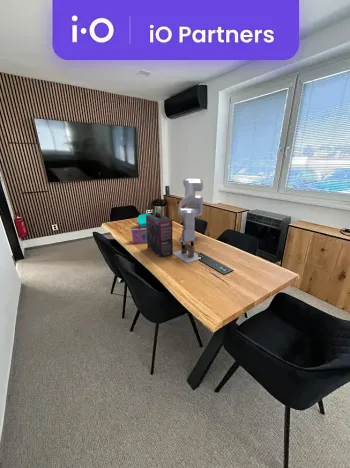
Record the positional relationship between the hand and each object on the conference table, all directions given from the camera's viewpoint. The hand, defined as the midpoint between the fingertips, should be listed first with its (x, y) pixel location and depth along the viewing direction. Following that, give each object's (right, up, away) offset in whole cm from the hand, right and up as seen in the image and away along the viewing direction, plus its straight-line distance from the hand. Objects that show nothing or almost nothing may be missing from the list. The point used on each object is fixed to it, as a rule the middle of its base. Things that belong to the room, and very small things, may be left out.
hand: (187, 247), depth 162 cm
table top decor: (-38, +16, +71) cm, 82 cm away
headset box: (-23, -4, +11) cm, 26 cm away
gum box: (-39, +4, +33) cm, 51 cm away
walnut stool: (0, -6, +2) cm, 7 cm away
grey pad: (0, -7, +2) cm, 7 cm away
